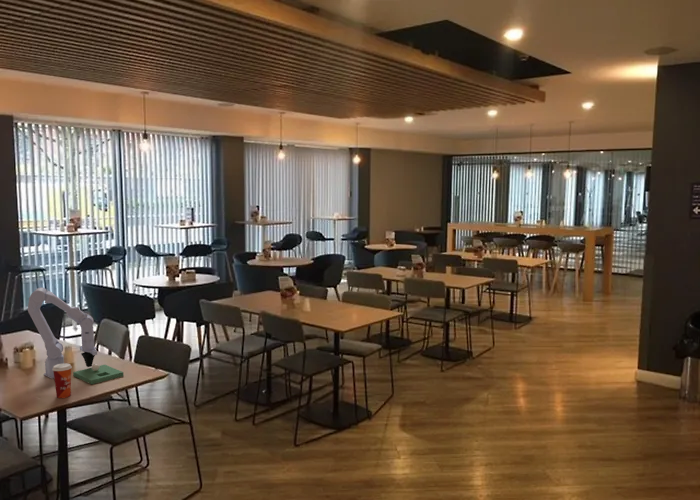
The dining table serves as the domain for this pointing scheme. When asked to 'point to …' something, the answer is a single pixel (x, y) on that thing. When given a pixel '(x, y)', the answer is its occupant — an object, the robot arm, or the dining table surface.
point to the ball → (95, 367)
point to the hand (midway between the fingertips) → (89, 366)
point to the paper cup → (62, 380)
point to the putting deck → (98, 374)
